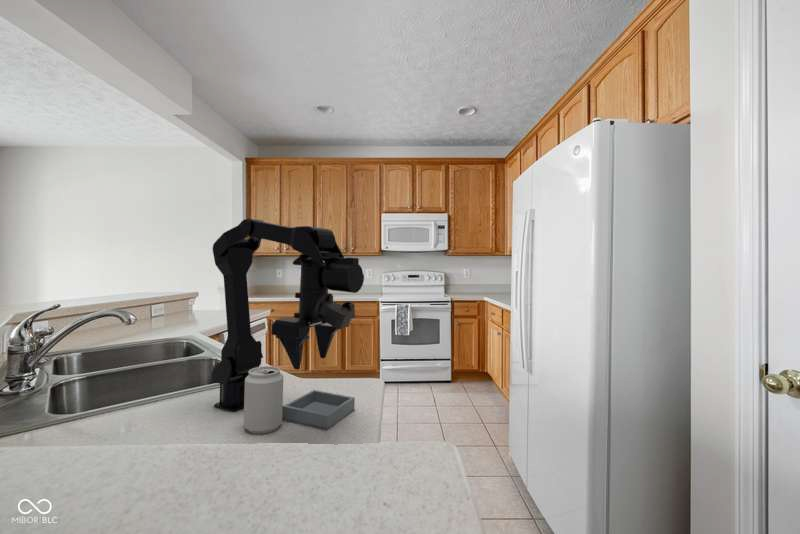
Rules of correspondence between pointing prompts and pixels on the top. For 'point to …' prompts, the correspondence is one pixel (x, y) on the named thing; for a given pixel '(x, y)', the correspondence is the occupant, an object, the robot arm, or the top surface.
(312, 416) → the bin
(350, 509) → the top surface
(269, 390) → the can
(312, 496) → the top surface
